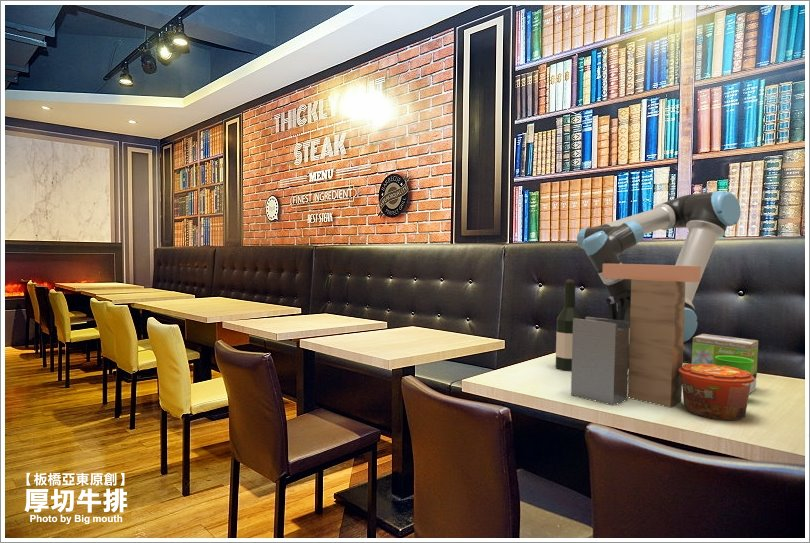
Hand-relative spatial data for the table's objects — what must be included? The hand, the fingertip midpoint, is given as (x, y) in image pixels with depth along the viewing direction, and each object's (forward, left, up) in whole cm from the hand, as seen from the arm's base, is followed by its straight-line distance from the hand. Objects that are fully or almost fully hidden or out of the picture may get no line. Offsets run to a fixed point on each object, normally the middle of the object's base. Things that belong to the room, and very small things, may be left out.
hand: (650, 340), depth 156 cm
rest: (+29, -1, -13) cm, 32 cm away
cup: (+1, +23, -13) cm, 26 cm away
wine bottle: (+4, -25, -13) cm, 29 cm away
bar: (+20, +7, +19) cm, 29 cm away
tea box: (-11, +17, -13) cm, 24 cm away
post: (+20, +10, -13) cm, 25 cm away
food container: (+19, +24, -13) cm, 33 cm away
